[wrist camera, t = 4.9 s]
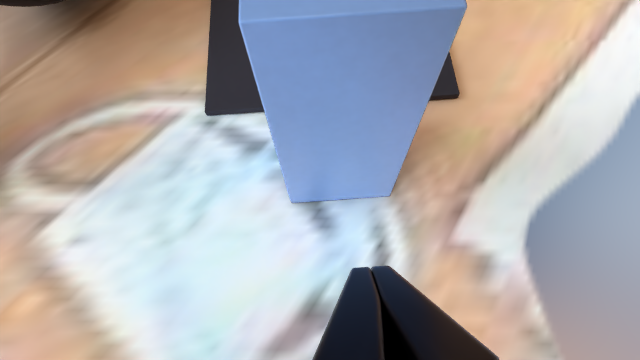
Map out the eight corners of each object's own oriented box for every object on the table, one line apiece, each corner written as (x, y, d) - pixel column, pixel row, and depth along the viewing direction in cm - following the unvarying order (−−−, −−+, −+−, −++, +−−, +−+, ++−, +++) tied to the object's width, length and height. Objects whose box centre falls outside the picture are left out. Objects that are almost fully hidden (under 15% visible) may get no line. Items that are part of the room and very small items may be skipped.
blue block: (390, 196, 19) (469, 5, 8) (290, 203, 19) (237, 22, 8) (379, 119, 21) (432, -124, 10) (287, 125, 21) (240, -111, 10)
